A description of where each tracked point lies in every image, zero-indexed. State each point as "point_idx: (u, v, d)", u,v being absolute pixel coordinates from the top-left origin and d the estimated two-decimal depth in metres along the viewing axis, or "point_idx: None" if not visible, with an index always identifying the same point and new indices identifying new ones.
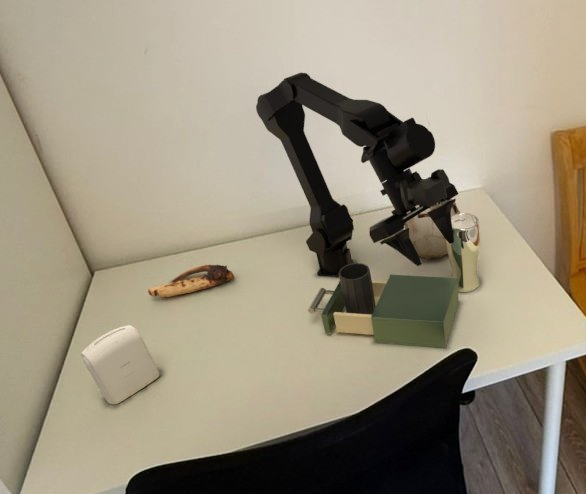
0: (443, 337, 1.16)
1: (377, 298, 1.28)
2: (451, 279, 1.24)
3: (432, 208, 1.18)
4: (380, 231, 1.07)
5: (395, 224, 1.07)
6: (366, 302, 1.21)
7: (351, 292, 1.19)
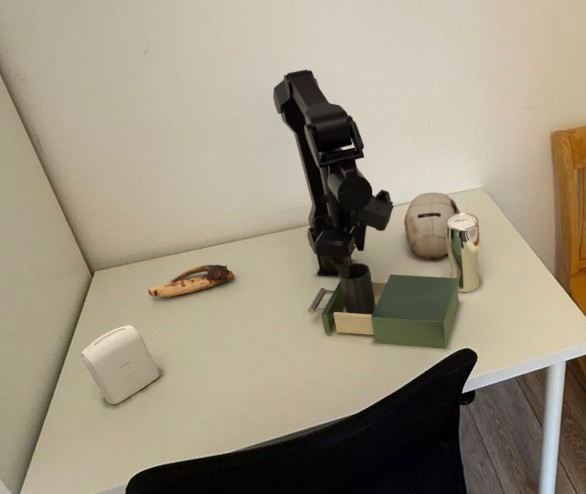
0: (443, 337, 1.16)
1: (377, 298, 1.28)
2: (451, 279, 1.24)
3: None
4: (334, 249, 1.06)
5: (350, 244, 1.07)
6: (366, 302, 1.21)
7: (351, 292, 1.19)
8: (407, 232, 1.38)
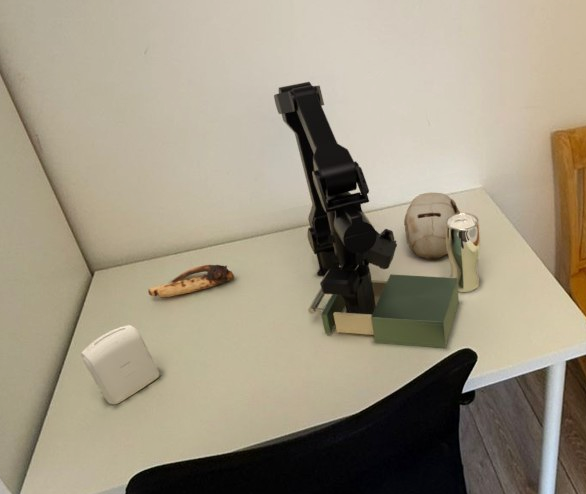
0: (443, 337, 1.16)
1: (377, 298, 1.28)
2: (451, 279, 1.24)
3: None
4: (340, 288, 1.11)
5: (355, 283, 1.12)
6: (366, 302, 1.21)
7: None
8: (407, 232, 1.38)
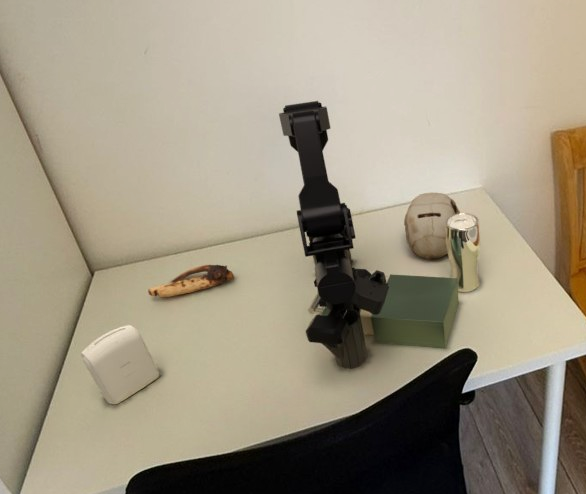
0: (443, 337, 1.16)
1: None
2: (451, 279, 1.24)
3: None
4: (327, 337, 1.02)
5: (344, 331, 1.03)
6: (357, 350, 1.13)
7: None
8: (407, 232, 1.38)
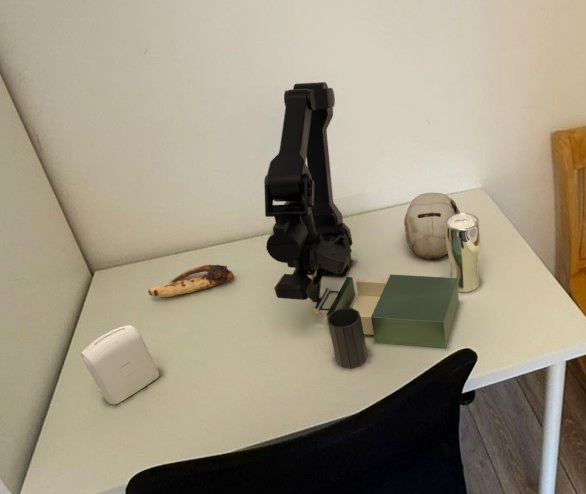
0: (443, 337, 1.16)
1: None
2: (451, 279, 1.24)
3: None
4: (293, 293, 1.14)
5: (308, 288, 1.15)
6: (357, 350, 1.13)
7: (341, 340, 1.11)
8: (407, 232, 1.38)
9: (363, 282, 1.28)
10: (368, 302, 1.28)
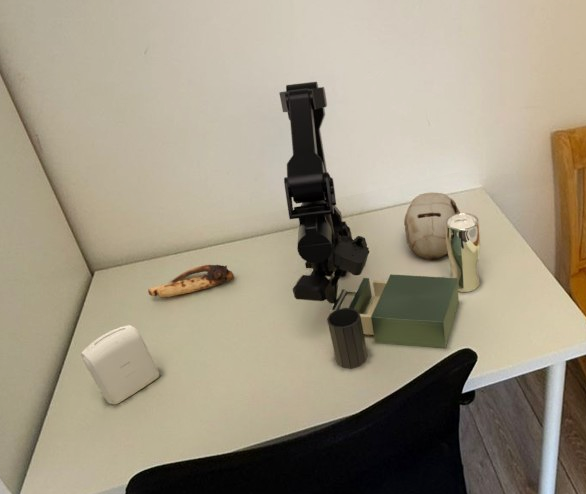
0: (443, 337, 1.16)
1: None
2: (451, 279, 1.24)
3: None
4: (312, 294, 1.13)
5: (327, 289, 1.14)
6: (357, 350, 1.13)
7: (341, 340, 1.11)
8: (407, 232, 1.38)
9: (380, 283, 1.27)
10: None
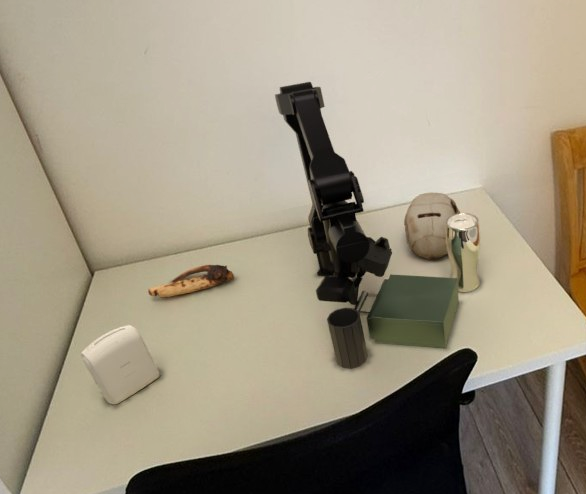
0: (443, 337, 1.16)
1: None
2: (451, 279, 1.24)
3: None
4: (335, 295, 1.12)
5: (351, 291, 1.13)
6: (357, 350, 1.13)
7: (341, 340, 1.11)
8: (407, 232, 1.38)
9: None
10: None
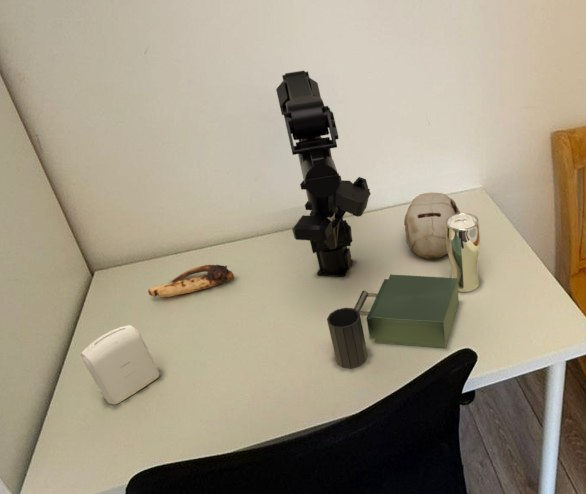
0: (443, 337, 1.16)
1: None
2: (451, 279, 1.24)
3: None
4: (312, 233, 1.11)
5: (328, 229, 1.12)
6: (357, 350, 1.13)
7: (341, 340, 1.11)
8: (407, 232, 1.38)
9: None
10: None
